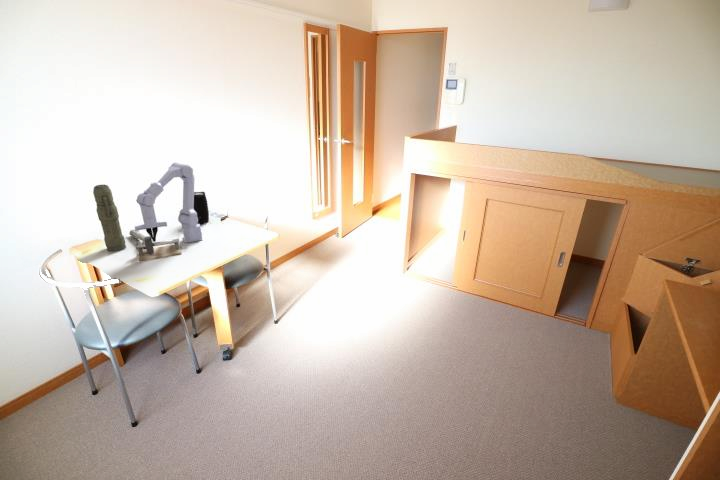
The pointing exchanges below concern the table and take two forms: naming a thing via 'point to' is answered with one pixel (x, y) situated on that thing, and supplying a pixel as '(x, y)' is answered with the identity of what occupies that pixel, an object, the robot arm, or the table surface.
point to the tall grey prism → (149, 245)
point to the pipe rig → (159, 250)
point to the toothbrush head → (138, 236)
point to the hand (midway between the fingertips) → (154, 240)
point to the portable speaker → (201, 207)
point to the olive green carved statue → (109, 218)
